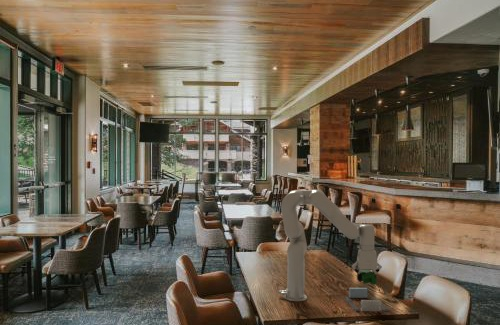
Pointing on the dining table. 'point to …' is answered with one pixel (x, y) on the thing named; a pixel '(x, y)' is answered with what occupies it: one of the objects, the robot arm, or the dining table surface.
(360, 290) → the block
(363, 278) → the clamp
